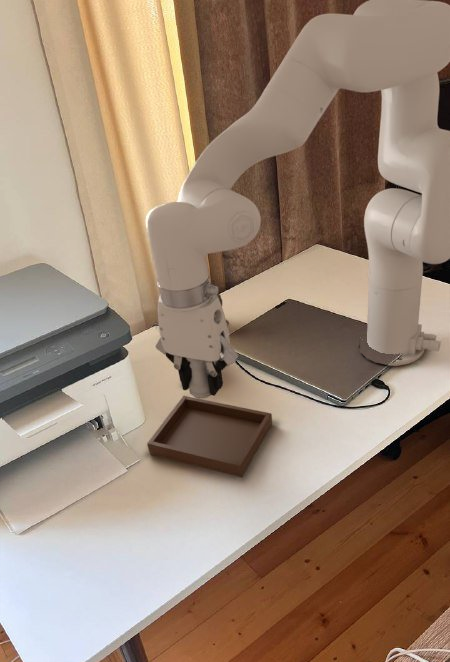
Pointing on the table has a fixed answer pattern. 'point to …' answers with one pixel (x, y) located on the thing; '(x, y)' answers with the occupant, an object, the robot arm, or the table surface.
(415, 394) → the table surface
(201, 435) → the tray
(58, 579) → the table surface
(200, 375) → the rook chess piece
